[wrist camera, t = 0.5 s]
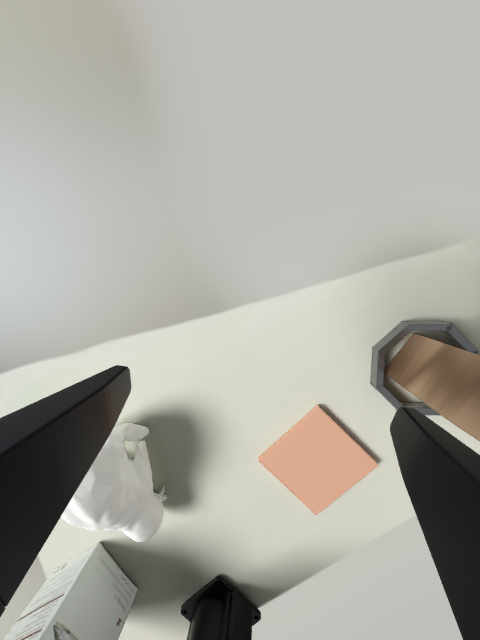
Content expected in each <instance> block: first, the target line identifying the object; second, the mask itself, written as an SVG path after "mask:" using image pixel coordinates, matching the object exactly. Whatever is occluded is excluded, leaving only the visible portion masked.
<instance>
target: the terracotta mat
mask: <svg viewBox="0 0 480 640" xmlns="http://www.w3.org/2000/svg"><path fill="white" fill-rule="evenodd" d="M259 462H260V463H261V464H262V465H263V466H264V467H265V468H267V469H268V470H269V471H270V472H271V473H272V474H273V475H274V476H275V477H276V478H277V479H278V480H279V481H280V482H281V483H282V484H283V485H285V486H286V487H287V488H288V489H289V490H290V491H291V492H292V493H293V494H294V495H295V496H296V497H297V498H298V499H299V500H300V501H302V502H303V503H304V504H305V505H306V506H307V507H308V508H309V509H310V510H311V511H312V512H313V513H314V514H315V515H317V514H318V513H320V512H321V511H322V510H323V509H325V508H326V507H327V506H328V505H330V504H331V503H332V502H333V501H335V500H336V499H337V498H338V497H339V496H341V495H342V494H343V493H344V492H346V491H347V490H348V489H349V488H351V487H352V486H353V485H354V484H356V483H357V482H358V481H359V480H361V479H362V478H363V477H364V476H366V475H367V474H368V473H369V472H371V471H372V470H373V469H374V468H376V467H377V466H378V464H377V462H376V461H375V460H374V459H373V458H372V457H371V456H370V455H369V454H368V453H367V452H366V451H365V450H364V449H363V448H362V447H361V446H360V445H359V444H358V443H357V442H356V441H355V440H354V439H353V438H352V437H351V436H350V435H349V434H348V433H347V432H345V431H344V430H343V429H342V428H341V427H340V426H339V425H338V424H337V423H336V422H335V421H334V420H333V419H332V418H331V417H330V416H329V415H328V414H327V413H326V412H325V411H324V410H323V409H322V408H321V407H320V406H319V405H317V406H316V407H315V408H314V409H312V410H311V411H310V412H309V413H308V414H307V415H306V416H304V417H303V418H302V419H301V420H300V421H299V422H298V423H297V424H295V425H294V426H293V427H292V428H291V429H290V430H289V431H288V432H286V433H285V434H284V435H283V436H282V437H281V438H280V439H279V440H277V441H276V442H275V443H274V444H273V445H272V446H271V447H270V448H268V449H267V450H266V451H265V452H264V453H263V454H262V455H260V456H259Z"/></svg>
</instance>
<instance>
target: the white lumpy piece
mask: <svg viewBox="0 0 480 640" xmlns="http://www.w3.org/2000/svg"><path fill="white" fill-rule="evenodd" d="M148 434H149V429H148V428H147V427H144V426H142V425H137V424H131V423H124V424H121V425H118V426H115V427H114V428H113V430H112V432H111V434H110V436H109V437H108V439H107V441H106V442H105V444H104V446H103V447H102V449H101V451H100V452H99V454H98V456H97V457H96V459H95V461H94V462H93V464H92V466H91V467H90V469H89V471H88V472H87V474H86V476H85V477H84V479H83V481H82V482H81V484H80V486H79V487H78V489H77V490H76V492H75V494H74V495H73V497H72V499H71V500H70V502H69V504H68V505H67V507H66V509H65V510H64V512H63V514H62V515H61V517H62V518H63V519H64V520H65V521H67V522H68V523H69V524H71V525H73V526H76V527H83V528H86V529H89V530H100V529H104V530H106V531H111V530H119V531H123V532H124V533H125V534H126V535H127V536H128V537H130V538H131V539H132V540H134V541H136V542H143V541H146V540H148V539H150V538H151V537H152V536H153V535H154V534H155V533H156V532H157V531H158V529H159V527H160V525H161V523H162V520H163V506H162V502H165V500H163V499H167V498H168V497H167V498H164V497H166V496H167V495H166V496H162V495H163V494H164V492H165V491H164V492H163V490H164V487H165V485H164V487H163V490H162V492H161V493H159V494H157V493H154V491H153V490H152V488H153V483H152V471H151V466H150V462H149V457H148V452H147V448H146V443H145V441H141V442H139V444H138V446H137V449H136V454H135V457H134V460H130V458H128V457H127V453H126V449H125V445H124V439H125V440H128V441H136V440H139V439H142V438H144V437H146V436H147V435H148Z"/></svg>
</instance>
